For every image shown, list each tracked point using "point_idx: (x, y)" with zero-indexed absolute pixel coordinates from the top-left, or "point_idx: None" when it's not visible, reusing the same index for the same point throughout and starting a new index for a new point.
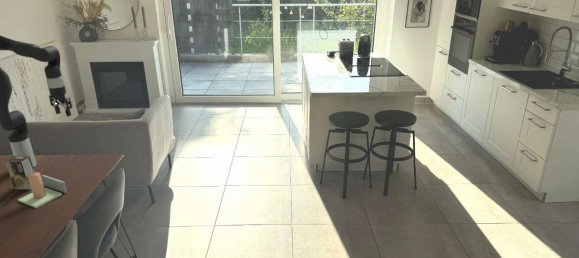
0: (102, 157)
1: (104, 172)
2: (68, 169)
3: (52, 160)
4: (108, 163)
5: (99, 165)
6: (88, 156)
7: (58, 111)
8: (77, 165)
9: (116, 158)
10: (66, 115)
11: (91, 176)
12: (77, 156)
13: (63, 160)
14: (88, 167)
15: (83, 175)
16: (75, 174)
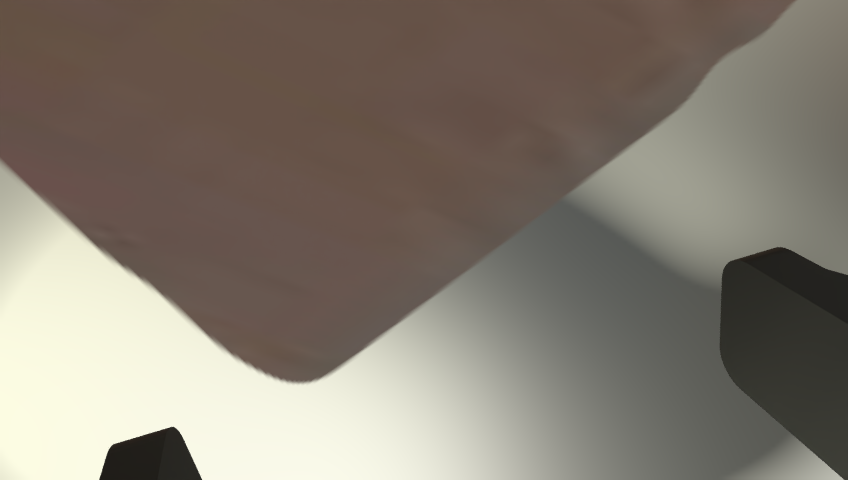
0: (365, 296)
1: (47, 196)
2: (374, 11)
3: (660, 4)
4: (211, 286)
5: (232, 223)
6: (476, 231)
7: (782, 362)
8: (388, 101)
9: (254, 360)
10: (157, 447)
11: (49, 83)
12: (551, 174)
13: (580, 65)
14: (269, 146)
15: (132, 43)
16: (215, 4)
